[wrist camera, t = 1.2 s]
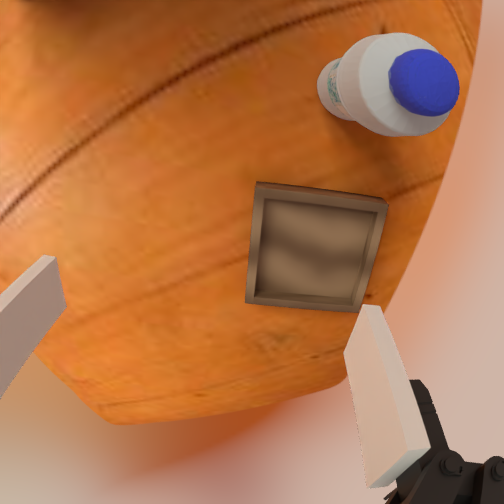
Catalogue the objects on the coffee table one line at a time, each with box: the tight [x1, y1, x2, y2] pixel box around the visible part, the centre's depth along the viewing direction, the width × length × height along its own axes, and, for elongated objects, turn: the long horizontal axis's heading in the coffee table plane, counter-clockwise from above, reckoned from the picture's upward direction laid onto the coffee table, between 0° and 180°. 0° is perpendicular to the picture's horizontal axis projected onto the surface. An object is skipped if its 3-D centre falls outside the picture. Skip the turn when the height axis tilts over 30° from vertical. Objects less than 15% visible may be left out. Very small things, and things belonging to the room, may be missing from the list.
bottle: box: [317, 33, 460, 137], centre depth 19 cm, size 7×7×20 cm
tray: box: [245, 181, 389, 313], centre depth 35 cm, size 14×14×2 cm
